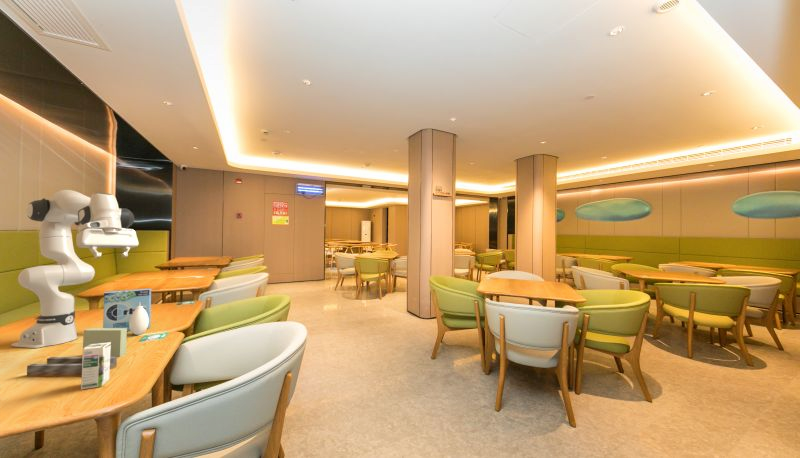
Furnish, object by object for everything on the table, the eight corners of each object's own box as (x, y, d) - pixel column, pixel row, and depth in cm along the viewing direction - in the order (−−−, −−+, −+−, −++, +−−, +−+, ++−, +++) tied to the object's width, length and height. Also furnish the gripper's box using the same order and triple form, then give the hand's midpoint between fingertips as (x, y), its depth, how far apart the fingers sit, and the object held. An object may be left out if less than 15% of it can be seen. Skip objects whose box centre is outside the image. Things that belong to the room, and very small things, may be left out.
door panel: (82, 357, 129) (83, 330, 129) (89, 354, 132) (90, 328, 132) (119, 357, 130) (120, 330, 130) (125, 354, 133) (126, 328, 133)
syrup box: (80, 390, 102) (81, 348, 103) (89, 382, 108) (91, 343, 108) (101, 387, 104) (103, 346, 105) (110, 379, 110) (111, 341, 110)
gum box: (150, 326, 172) (151, 288, 173) (148, 328, 168) (150, 289, 169) (104, 332, 162) (106, 291, 162) (102, 334, 157) (103, 292, 158)
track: (26, 376, 111) (27, 365, 112) (50, 366, 119) (51, 357, 119) (97, 375, 113) (97, 365, 113) (116, 366, 121) (116, 356, 121)
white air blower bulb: (139, 331, 163) (141, 299, 163) (151, 332, 162) (153, 300, 162) (124, 336, 155) (126, 302, 156) (137, 337, 154) (138, 303, 154)
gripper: (130, 231, 139) (134, 258, 136) (72, 227, 119) (75, 259, 117) (139, 226, 137) (144, 254, 135) (81, 222, 117) (85, 255, 115)
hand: (111, 257), depth 126 cm, fingers open, 8 cm apart
